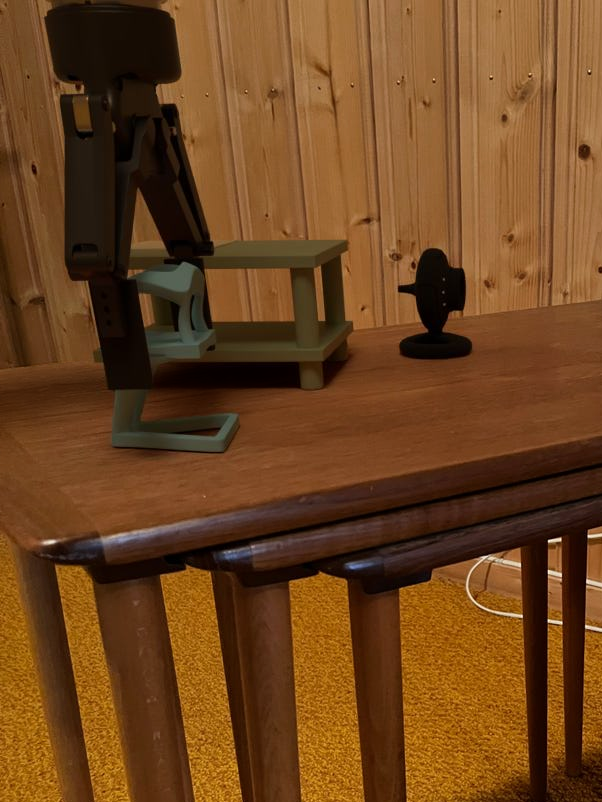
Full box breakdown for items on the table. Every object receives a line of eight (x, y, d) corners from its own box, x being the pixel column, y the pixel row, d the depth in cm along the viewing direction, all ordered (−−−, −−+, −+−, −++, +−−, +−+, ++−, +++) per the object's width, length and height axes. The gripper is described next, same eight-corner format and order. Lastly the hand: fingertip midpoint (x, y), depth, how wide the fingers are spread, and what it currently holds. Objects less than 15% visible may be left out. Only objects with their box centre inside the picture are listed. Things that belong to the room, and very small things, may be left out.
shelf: (99, 391, 85) (74, 256, 80) (161, 357, 99) (143, 240, 95) (326, 391, 84) (314, 253, 79) (355, 356, 99) (347, 238, 94)
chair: (129, 428, 74) (100, 258, 68) (241, 424, 74) (220, 255, 69) (102, 456, 67) (66, 270, 61) (224, 452, 67) (200, 267, 62)
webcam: (464, 360, 96) (462, 251, 91) (391, 358, 97) (385, 251, 93) (478, 346, 103) (477, 244, 98) (409, 345, 104) (405, 244, 100)
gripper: (85, -30, 47) (159, 408, 57) (227, 29, 70) (263, 336, 79) (-66, -25, 48) (33, 410, 57) (124, 33, 70) (172, 338, 79)
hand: (167, 368), depth 68 cm, fingers open, 13 cm apart
